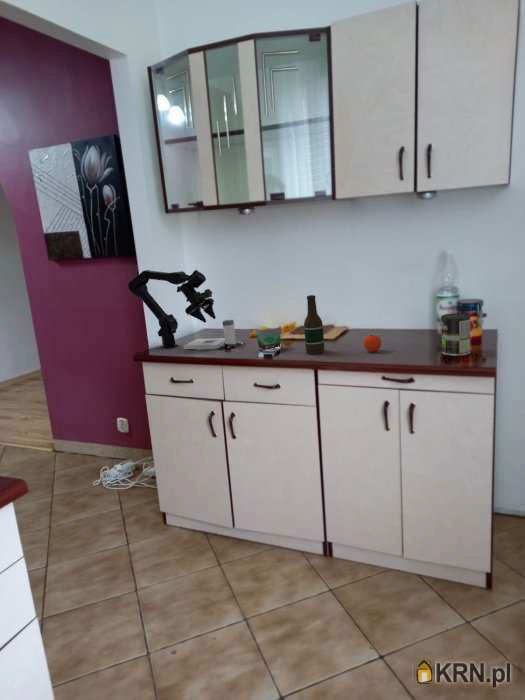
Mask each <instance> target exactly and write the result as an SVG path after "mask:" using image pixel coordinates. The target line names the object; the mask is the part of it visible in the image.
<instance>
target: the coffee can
mask: <svg viewBox="0 0 525 700" xmlns="http://www.w3.org/2000/svg"><path fill="white" fill-rule="evenodd" d="M440 319H441V320H440V321H441V323H440V324H441V325H440V326H441V354H443V355H445V356H451V357H453V356H454V357H458V356H459V357H460V356H466V355H467V356H468V355H470V354H471V315H470V314H468V313H447V314H443V315H441V316H440Z"/></svg>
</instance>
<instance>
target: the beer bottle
mask: <svg viewBox="0 0 525 700" xmlns="http://www.w3.org/2000/svg"><path fill="white" fill-rule="evenodd" d="M306 300H307V301H306V302H307V315H306V317H305V319H304V322H303V331H304V344H305V352H306V354H307V355H310V356H311V355H313V356H314V355H321V354H323V353H325V339H324V325H323V320H322V318H321V317H320V316H319V314H318V313H319V312H318V310H317V309H318V307H317V302H316V295H314V294H313V295H311V294H310V295H306Z"/></svg>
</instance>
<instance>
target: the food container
mask: <svg viewBox="0 0 525 700" xmlns="http://www.w3.org/2000/svg"><path fill="white" fill-rule="evenodd" d="M282 332H283V330H282V327H281V326H279V327H276V328H265V329H255V331H254V335H256V340H257V344H258V349H259V351H260V352H261V351H263V350H265V349H271V348H275V347H278V346H279V347H280V348H281V333H282Z"/></svg>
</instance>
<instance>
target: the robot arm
mask: <svg viewBox="0 0 525 700" xmlns="http://www.w3.org/2000/svg"><path fill="white" fill-rule="evenodd" d="M150 280H154V281H155V280H156V281H162V282H163V281H165V282H167V283H170V284H172V285H176V286H177V285H178V286H177V287H176V288H177V289H176V293H181V292H182V294H183V295H184V297H185V298H186V299H185V300H186V302H189V305H188V306H187V307H186V308H185V314H186V316H191V317H193V318H195V319H197V320H199V321H201V322H203V323H207V319H206V317H205V316H204V314H203V313H202V311H203V312H204V313H206V315H208V316H209V317H210V318H212V319H213V320H216V318H217V317H216V315H215V312H214V309H213V308H214V304H215V303H214V302H215V300H214V299H213V298H212V297H213V295H212V294H213V291H212V290H211V289H210V288H207V289H204V292H200V291H197V290H196V289H198V288H199V287H200V286H201V285H203V284H204V283H205V282H206V280H207V277H206V276H205V275H204V273H202V272H200V271H199V270H197V269H195V270H194V271H193V272H192V273H191V274H190V275H189V274H187V273H186V272H185V271H172V272H166V271H165V272H164V271H159V270H158V271H156V270H150V269H147V270H142V271H141V272H140V273H139V274H138V275H137V276H135V277H134V278H133V279H132V280H130V281H129V282H128V284H127V288H128V290H129V292H131V293H132V294H133V295H134V296H137V298H140V299H141V301H142V302H143V303H144V304H145V305H146V306H147V308H148V309H149V310H150V312H152V314H153V315H154V316H155V318H156V319H157V321H158V326H159V327H160V328H159V330H158V331H157V335H158V337H161V342H162V343H161V346H160V347H159V348H162V349H163V348H164V349H170V348H174V347H178V346H179V345H178V344H176V339H175V334H177V329H178V328H179V323H178V319H177V318H176V317H175V316H174V314H172V313H171V314H167V313H166V311H164V309H163V308H162V307H161V306H160V305H159V303H158V302H157V301H156V300H155V298H154V297H153V295H151V294H150V292H149V290H148V285H147V284H148V283H149V281H150Z"/></svg>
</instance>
